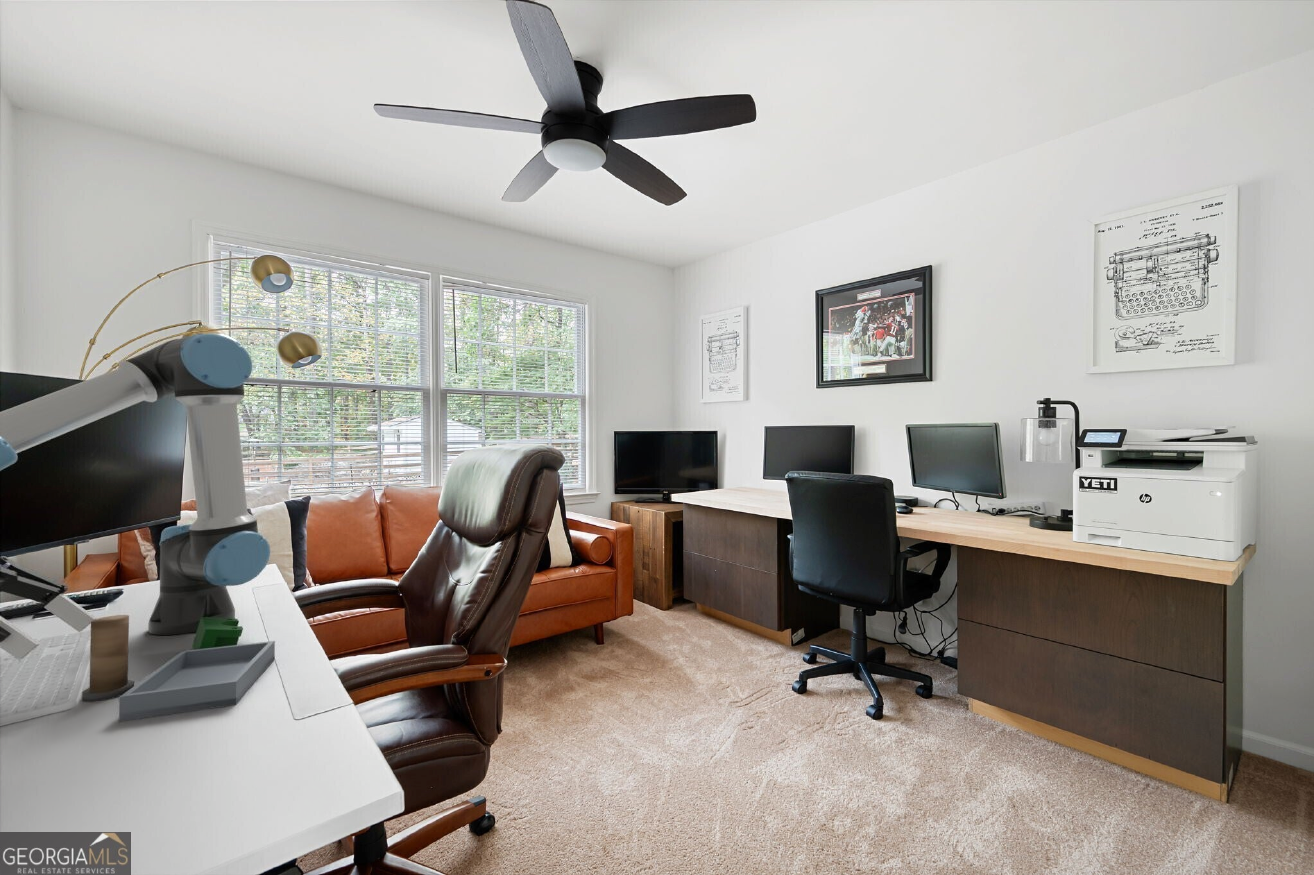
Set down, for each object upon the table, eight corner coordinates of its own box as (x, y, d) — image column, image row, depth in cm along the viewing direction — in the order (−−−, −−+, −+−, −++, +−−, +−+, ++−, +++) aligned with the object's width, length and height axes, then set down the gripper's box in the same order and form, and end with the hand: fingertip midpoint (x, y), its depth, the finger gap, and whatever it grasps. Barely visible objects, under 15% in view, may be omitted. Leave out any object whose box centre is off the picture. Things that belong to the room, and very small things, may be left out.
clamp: (227, 675, 107) (243, 635, 106) (188, 676, 103) (205, 634, 102) (229, 637, 116) (244, 600, 115) (193, 636, 112) (208, 598, 111)
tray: (181, 670, 98) (182, 651, 98) (274, 659, 103) (274, 640, 103) (119, 721, 79) (119, 696, 79) (235, 704, 84) (236, 681, 84)
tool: (95, 689, 90) (97, 615, 91) (141, 683, 93) (143, 611, 93) (72, 704, 85) (74, 626, 85) (122, 697, 87) (123, 621, 87)
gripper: (-25, 553, 92) (88, 632, 97) (-187, 585, 69) (-28, 688, 73) (18, 520, 94) (127, 599, 99) (-125, 540, 71) (26, 643, 76)
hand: (61, 637), depth 86 cm, fingers open, 13 cm apart
